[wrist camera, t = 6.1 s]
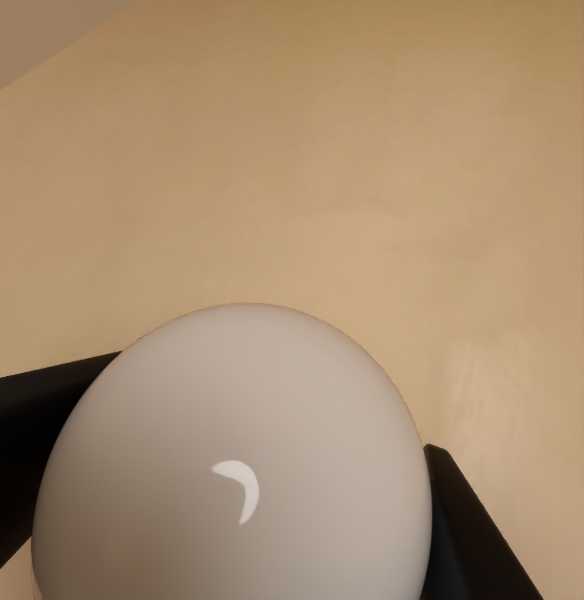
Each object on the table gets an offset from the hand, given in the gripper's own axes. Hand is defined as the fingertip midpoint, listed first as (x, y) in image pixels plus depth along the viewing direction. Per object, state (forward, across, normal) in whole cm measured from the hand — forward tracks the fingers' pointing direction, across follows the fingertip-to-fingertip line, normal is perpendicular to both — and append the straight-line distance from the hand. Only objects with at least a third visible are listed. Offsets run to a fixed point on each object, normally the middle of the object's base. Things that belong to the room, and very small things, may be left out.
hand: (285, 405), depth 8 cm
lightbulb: (+4, 0, +6) cm, 7 cm away
